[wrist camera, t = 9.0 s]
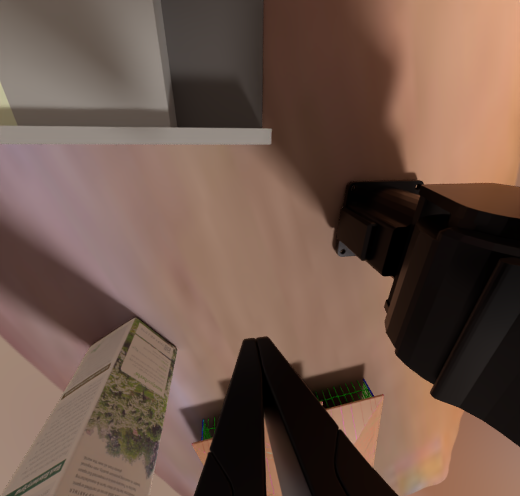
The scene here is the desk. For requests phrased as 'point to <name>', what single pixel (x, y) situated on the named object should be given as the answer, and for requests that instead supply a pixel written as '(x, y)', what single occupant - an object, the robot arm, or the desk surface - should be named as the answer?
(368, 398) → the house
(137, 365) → the syrup box
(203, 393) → the desk surface
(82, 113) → the tray
